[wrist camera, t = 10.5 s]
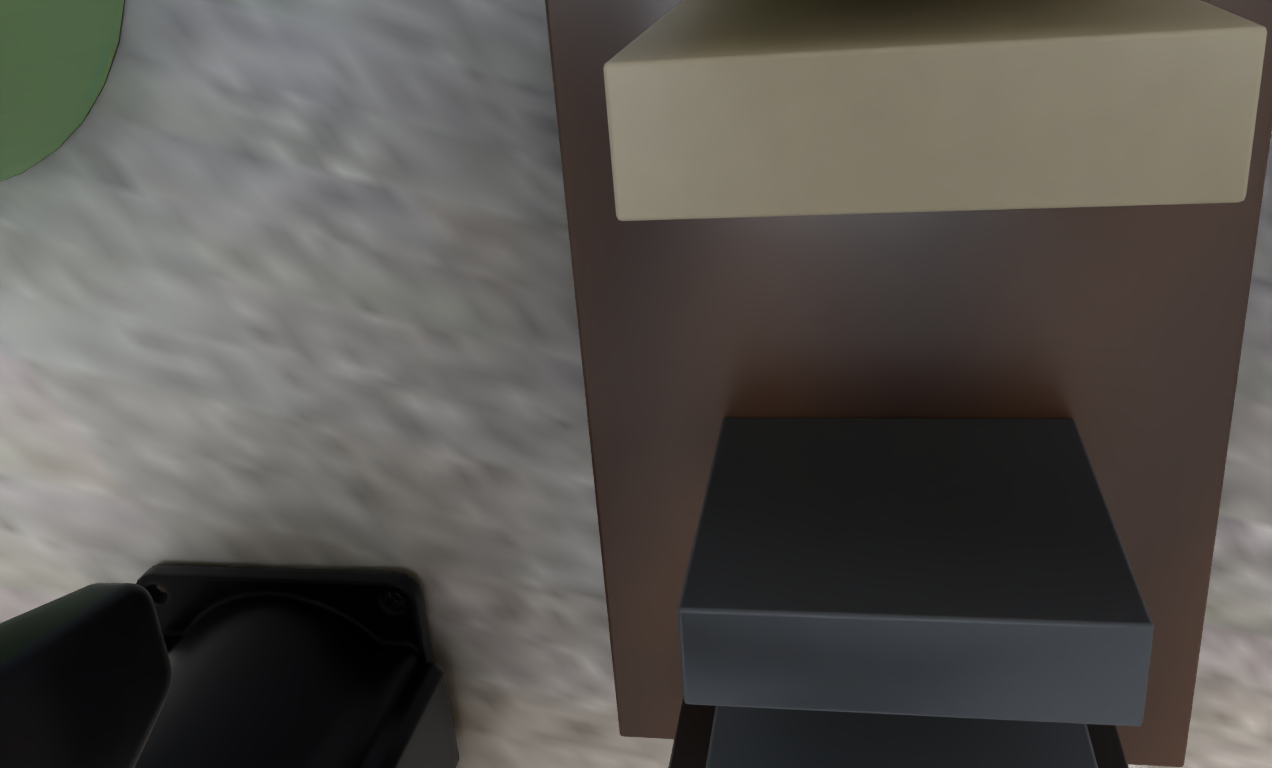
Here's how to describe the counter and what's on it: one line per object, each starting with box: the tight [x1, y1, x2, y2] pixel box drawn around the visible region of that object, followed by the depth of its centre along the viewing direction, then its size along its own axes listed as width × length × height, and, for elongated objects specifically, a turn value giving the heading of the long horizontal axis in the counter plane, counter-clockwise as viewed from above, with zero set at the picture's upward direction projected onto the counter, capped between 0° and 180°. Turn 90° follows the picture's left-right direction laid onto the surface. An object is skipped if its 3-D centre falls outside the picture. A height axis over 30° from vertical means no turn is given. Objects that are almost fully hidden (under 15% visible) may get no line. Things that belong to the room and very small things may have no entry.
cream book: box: [603, 0, 1267, 221], centre depth 15 cm, size 6×2×8 cm, turn 94°
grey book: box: [706, 706, 1098, 768], centre depth 20 cm, size 6×2×6 cm, turn 94°
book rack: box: [545, 0, 1272, 768], centre depth 18 cm, size 11×20×6 cm, turn 4°
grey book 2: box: [677, 418, 1154, 727], centre depth 18 cm, size 6×2×6 cm, turn 94°
